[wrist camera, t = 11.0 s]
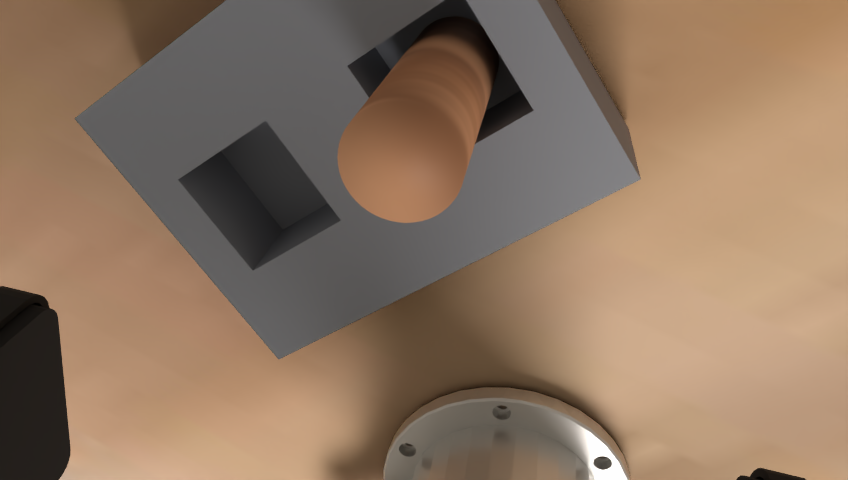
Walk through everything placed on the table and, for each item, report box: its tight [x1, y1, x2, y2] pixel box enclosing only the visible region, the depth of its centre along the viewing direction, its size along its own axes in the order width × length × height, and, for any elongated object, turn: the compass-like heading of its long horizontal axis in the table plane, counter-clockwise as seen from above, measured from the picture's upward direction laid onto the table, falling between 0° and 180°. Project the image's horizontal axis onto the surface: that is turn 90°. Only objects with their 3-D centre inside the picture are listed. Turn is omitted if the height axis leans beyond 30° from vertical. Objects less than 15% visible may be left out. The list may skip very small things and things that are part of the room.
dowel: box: [337, 16, 499, 223], centre depth 22 cm, size 3×3×10 cm
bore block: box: [75, 0, 640, 359], centre depth 27 cm, size 16×12×5 cm
